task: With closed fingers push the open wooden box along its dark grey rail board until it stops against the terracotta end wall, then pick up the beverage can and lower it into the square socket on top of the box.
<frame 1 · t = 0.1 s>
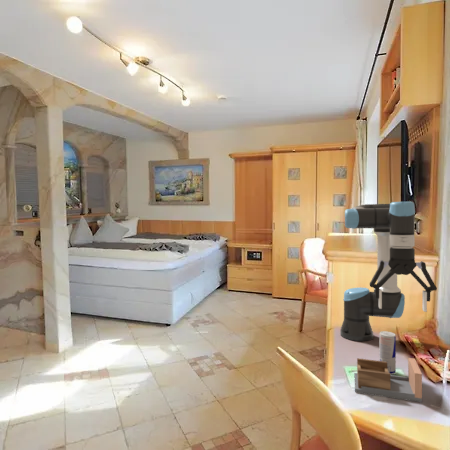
hand: (401, 309, 116), 28 cm above the table, fingers open, 13 cm apart
rail board: (385, 388, 118), on the table
open wooden box: (372, 374, 119), point 4 cm above the table, slide at 0.0 cm
beverage can: (387, 372, 130), on the table
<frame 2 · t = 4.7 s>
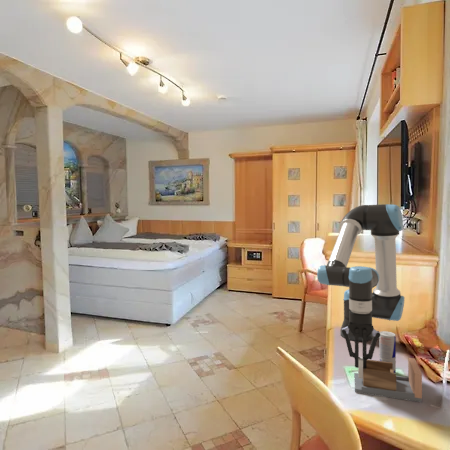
hand: (360, 376, 121), 3 cm above the table, fingers closed
open wooden box: (378, 375, 119), point 4 cm above the table, slide at 1.7 cm, touching gripper
everything else where it was.
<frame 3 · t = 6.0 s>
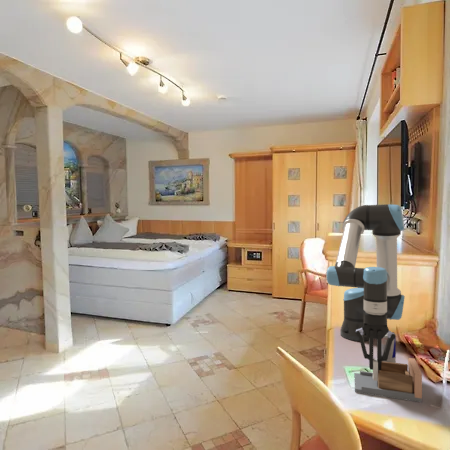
hand: (375, 378, 119), 3 cm above the table, fingers closed
open wooden box: (393, 377, 117), point 4 cm above the table, slide at 6.5 cm, touching gripper
everything else where it was.
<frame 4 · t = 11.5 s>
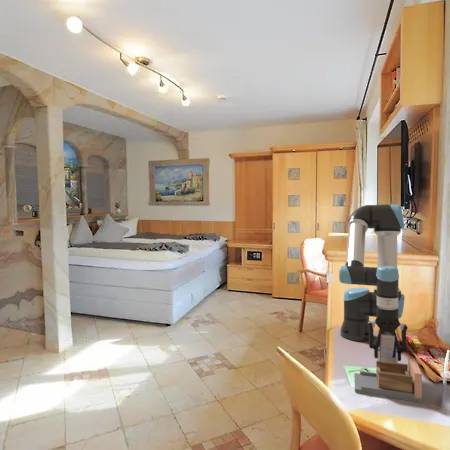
hand: (387, 367, 130), 2 cm above the table, fingers closed on beverage can, 5 cm apart
open wooden box: (393, 377, 117), point 4 cm above the table, slide at 6.5 cm
beverage can: (387, 372, 130), on the table, touching gripper
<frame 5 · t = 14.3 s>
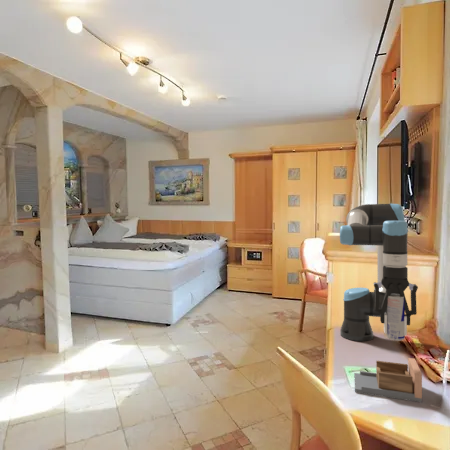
hand: (395, 333, 116), 20 cm above the table, fingers closed on beverage can, 5 cm apart
beverage can: (395, 338, 116), point 18 cm above the table, touching gripper
everything else where it was.
when the fingers open (8 cm above the table, at t = 16.7 s): beverage can drops 1 cm, resting on open wooden box.
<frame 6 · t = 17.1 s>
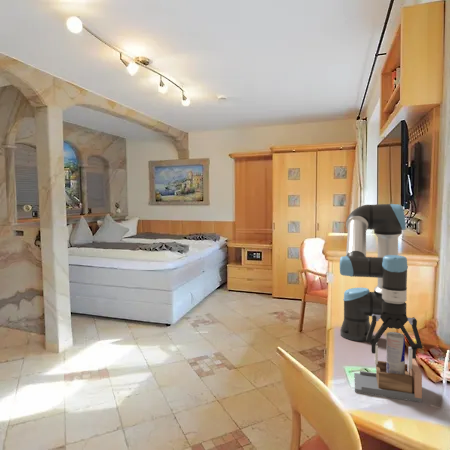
hand: (392, 364, 117), 9 cm above the table, fingers open, 10 cm apart
open wooden box: (393, 376, 117), point 4 cm above the table, slide at 6.4 cm, touching beverage can
beverage can: (395, 377, 117), point 4 cm above the table, touching open wooden box
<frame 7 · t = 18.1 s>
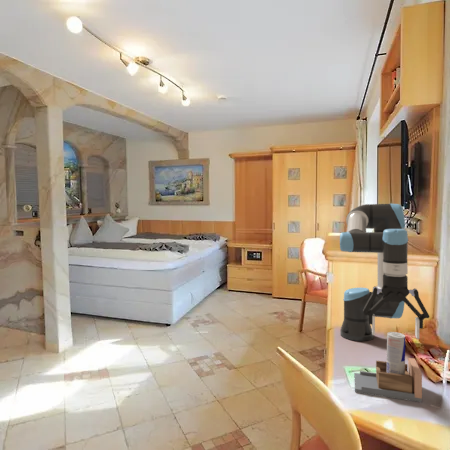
hand: (394, 335, 117), 19 cm above the table, fingers open, 13 cm apart
nothing on the table moved.
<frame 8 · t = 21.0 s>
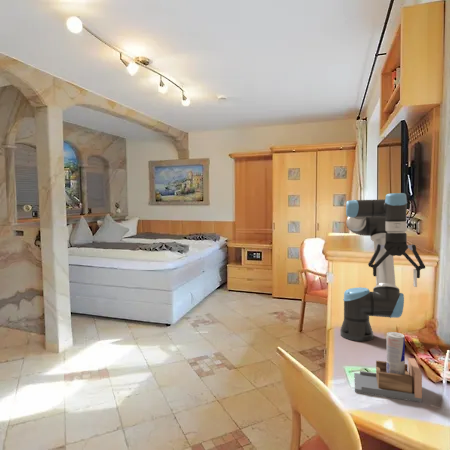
hand: (395, 285, 136), 32 cm above the table, fingers open, 13 cm apart
nothing on the table moved.
at the end: open wooden box slide at 6.4 cm; beverage can 0.7 cm from the open wooden box (horizontally); beverage can tilted 0° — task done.
